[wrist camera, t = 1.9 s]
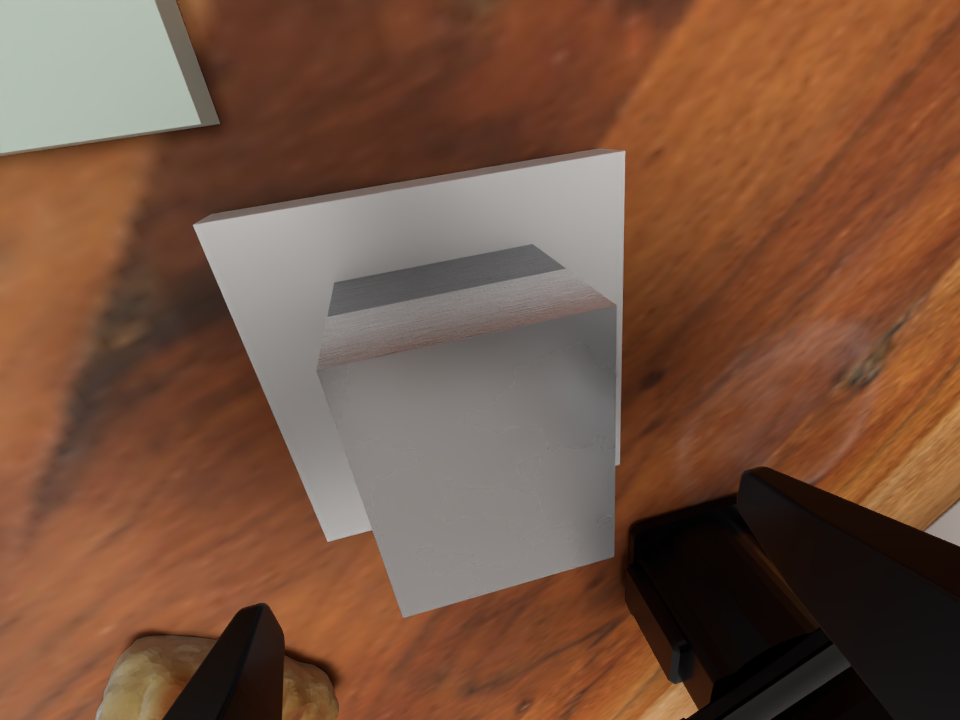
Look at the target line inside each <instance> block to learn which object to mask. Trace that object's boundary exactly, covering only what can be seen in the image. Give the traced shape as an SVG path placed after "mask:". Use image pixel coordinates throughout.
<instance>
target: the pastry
mask: <svg viewBox="0 0 960 720" xmlns="http://www.w3.org/2000/svg"><path fill="white" fill-rule="evenodd" d="M216 641H217V640H214V639H208V638H200V637H189V636H178V635H166V636H148V637H143V638H140V639H137V640H136V641H135V642H134V643H133V644H132V646H130V647H128V648H127V649H126V650H125V651H124V652H123V653H122V654H121V655H120V657H119V659H118V661H117V663H116V665H115V667H114V669H113V672H112V674H111V676H110V679H109V681H108V684H107V686H106V688H105V691H104V698H103V702H102V703H101V705H100V707H99V708H98V710H97V715H96V718H95V720H162V718H163V717H164V716H165V714H166V713H167V711H168V710H169V708H170V707H171V706H172V704H173V703H174V701H175V700H176V698H177V697H178V696H179V694H180V693H181V691H182V690H183V688H184V687H185V686H186V684H187V683H188V681H189V680H190V679H191V677H192V676H193V674H194V673H195V671H196V670H197V669H198V667H199V666H200V664H201V663H202V661H203V660H204V659H205V657H206V656H207V654H208V653H209V651H210V650H211V649H212V647H213V646H214V644H215V643H216ZM338 712H339V704H338V701H337V698H336V696H335V692H334V689H333V686H332V684H331V681H330V679H329V677H328V675H327V674H326V673H325V672H324V671H322V670H321V669H319V668H318V667H317V666H315V665H312V664H307V663H302V662H298V661H296V660H293V659H292V658H290V657H288V656H285V655H284V679H283V710H282V720H336V718H337V716H338Z"/></svg>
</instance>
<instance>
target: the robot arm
mask: <svg viewBox="0 0 960 720" xmlns="http://www.w3.org/2000/svg"><path fill="white" fill-rule="evenodd" d="M625 601H626V603H627V606H628V609H629V611H630V613H631V614H632V615H633V616H634V618H635V619H636V621H637V623H638V625H639V627H640V629H641V631H642V632H643V634H644V636H645V638H646V640H647V642H648V643H649V645H650V647H651V649H652V651H653V653H654V655H655V656H656V658H657V660H658V662H659V664H660V666H661V667H662V669H663V671H664V673H665V675H666V677H667V679H668V680H669V681H671V682H672V683H674V684H678V683H681V682H683V684H684V685H685V687H686V689H687V691H688V692H689V694H690V696H691V698H692V699H693V701H694V703H695V705H696V707H697V708H698V710H699V711H697V712H696V713H694V714H693V715H691V716H690V717H689V718H687V719H685V718H682V719H680V720H960V547H959V546H957V545H955V544H952V543H950V542H947V541H945V540H942V539H940V538H938V537H935V536H933V535H930V534H928V533H926V532H923V531H921V530H918V529H916V528H914V527H911V526H909V525H906V524H904V523H901V522H899V521H897V520H894V519H892V518H889V517H887V516H884V515H882V514H880V513H877V512H875V511H872V510H870V509H868V508H865V507H863V506H860V505H858V504H855V503H853V502H851V501H848V500H846V499H843V498H841V497H838V496H836V495H834V494H831V493H829V492H826V491H824V490H821V489H819V488H817V487H814V486H812V485H809V484H807V483H805V482H802V481H800V480H797V479H795V478H792V477H790V476H788V475H785V474H783V473H780V472H778V471H775V470H773V469H771V468H768V467H757V468H753V469H750V470H746V471H744V472H743V473H742V475H741V479H740V485H739V490H738V496H735V497H732V498H728V499H725V500H721V501H718V502H714V503H710V504H707V505H703V506H700V507H696V508H693V509H689V510H686V511H682V512H679V513H675V514H672V515H668V516H665V517H661V518H658V519H654V520H650V521H647V522H643V523H640V524H638V525H636V526H634V527H633V528H632V530H631V531H630V544H629V564H628V566H627V569H626V589H625ZM284 648H285V642H284V634H283V631H282V628H281V627H280V625H279V623H278V621H277V619H276V618H275V616H274V614H273V612H272V611H271V609H270V607H269V606H268V605H267V604H266V603H259V604H255V605H252V606H248V607H245V608H242V609H241V610H239V611H238V612H237V613H236V615H235V616H234V617H233V619H232V620H231V622H230V623H229V624H228V626H227V627H226V629H225V630H224V632H223V633H222V634H221V636H220V637H219V639H218V640H217V641H216V643H215V644H214V646H213V647H212V649H211V650H210V651H209V653H208V654H207V656H206V657H205V659H204V660H203V661H202V663H201V664H200V666H199V667H198V669H197V670H196V671H195V673H194V674H193V676H192V677H191V679H190V680H189V681H188V683H187V684H186V686H185V687H184V688H183V690H182V691H181V693H180V694H179V696H178V697H177V698H176V700H175V701H174V703H173V704H172V706H171V707H170V708H169V710H168V711H167V713H166V714H165V716H164V717H163V718H162V720H282V710H283V679H284Z"/></svg>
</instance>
